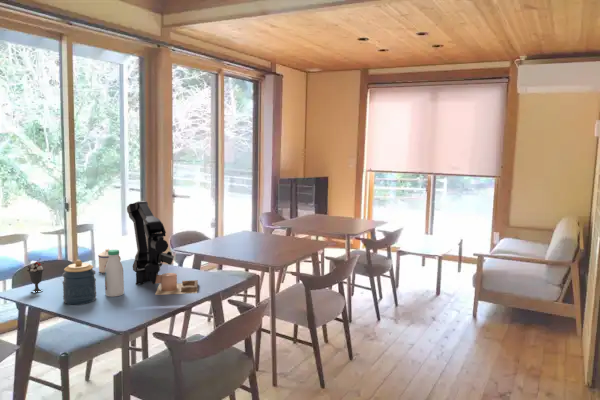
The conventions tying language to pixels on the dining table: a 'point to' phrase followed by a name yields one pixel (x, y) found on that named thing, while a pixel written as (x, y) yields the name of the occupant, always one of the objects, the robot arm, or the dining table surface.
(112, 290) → the milk bottle
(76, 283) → the canister
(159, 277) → the peach dome with handle
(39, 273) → the sundae
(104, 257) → the teacup with lid
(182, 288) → the cradle
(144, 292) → the dining table surface
